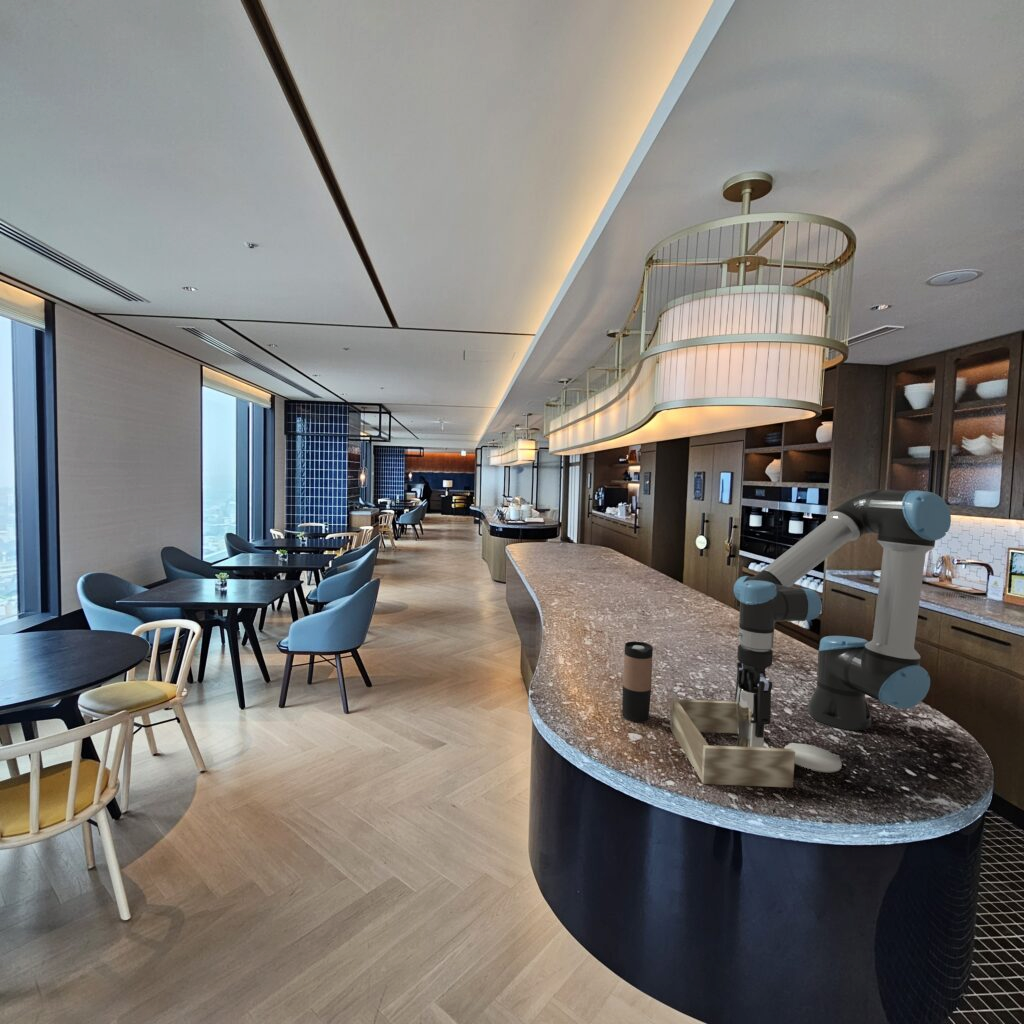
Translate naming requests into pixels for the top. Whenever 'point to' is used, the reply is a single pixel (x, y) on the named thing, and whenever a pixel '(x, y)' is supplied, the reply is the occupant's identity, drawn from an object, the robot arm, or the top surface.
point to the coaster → (815, 758)
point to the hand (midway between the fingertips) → (750, 741)
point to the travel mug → (637, 681)
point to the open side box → (726, 747)
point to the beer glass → (744, 715)
